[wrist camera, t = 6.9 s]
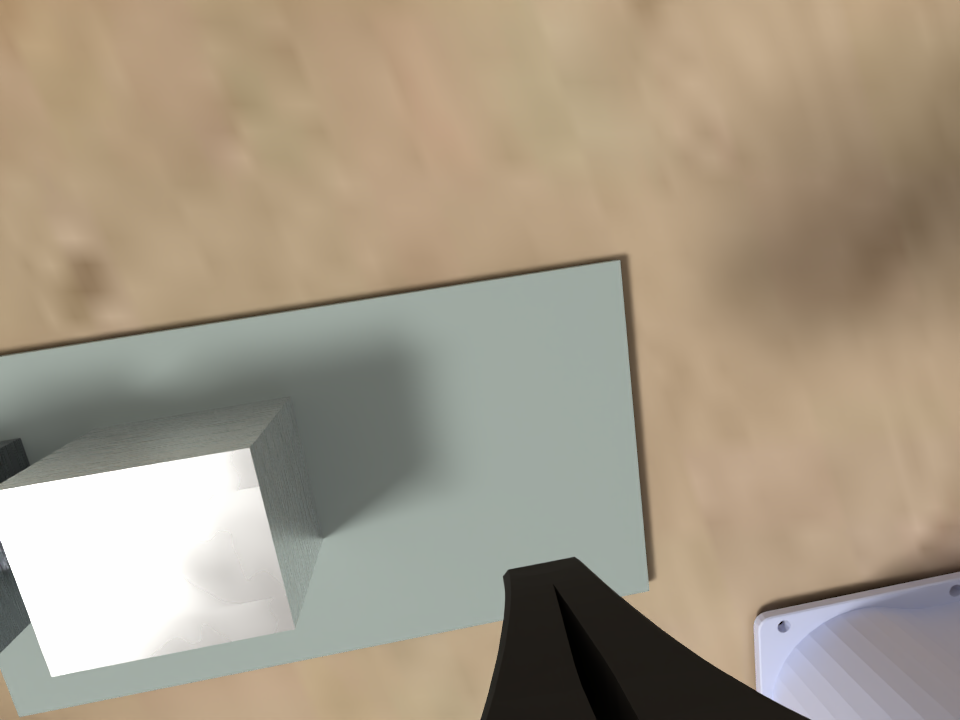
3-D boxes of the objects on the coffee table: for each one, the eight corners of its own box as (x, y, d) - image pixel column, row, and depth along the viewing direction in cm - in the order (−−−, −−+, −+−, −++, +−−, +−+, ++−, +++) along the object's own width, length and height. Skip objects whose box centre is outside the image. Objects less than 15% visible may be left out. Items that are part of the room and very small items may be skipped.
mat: (615, 259, 18) (620, 260, 18) (645, 584, 21) (649, 590, 21) (-104, 371, 17) (-116, 374, 16) (27, 707, 20) (19, 717, 19)
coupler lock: (290, 396, 18) (249, 447, 13) (323, 538, 19) (295, 629, 15) (92, 428, 17) (-16, 493, 13) (138, 572, 19) (51, 676, 14)
